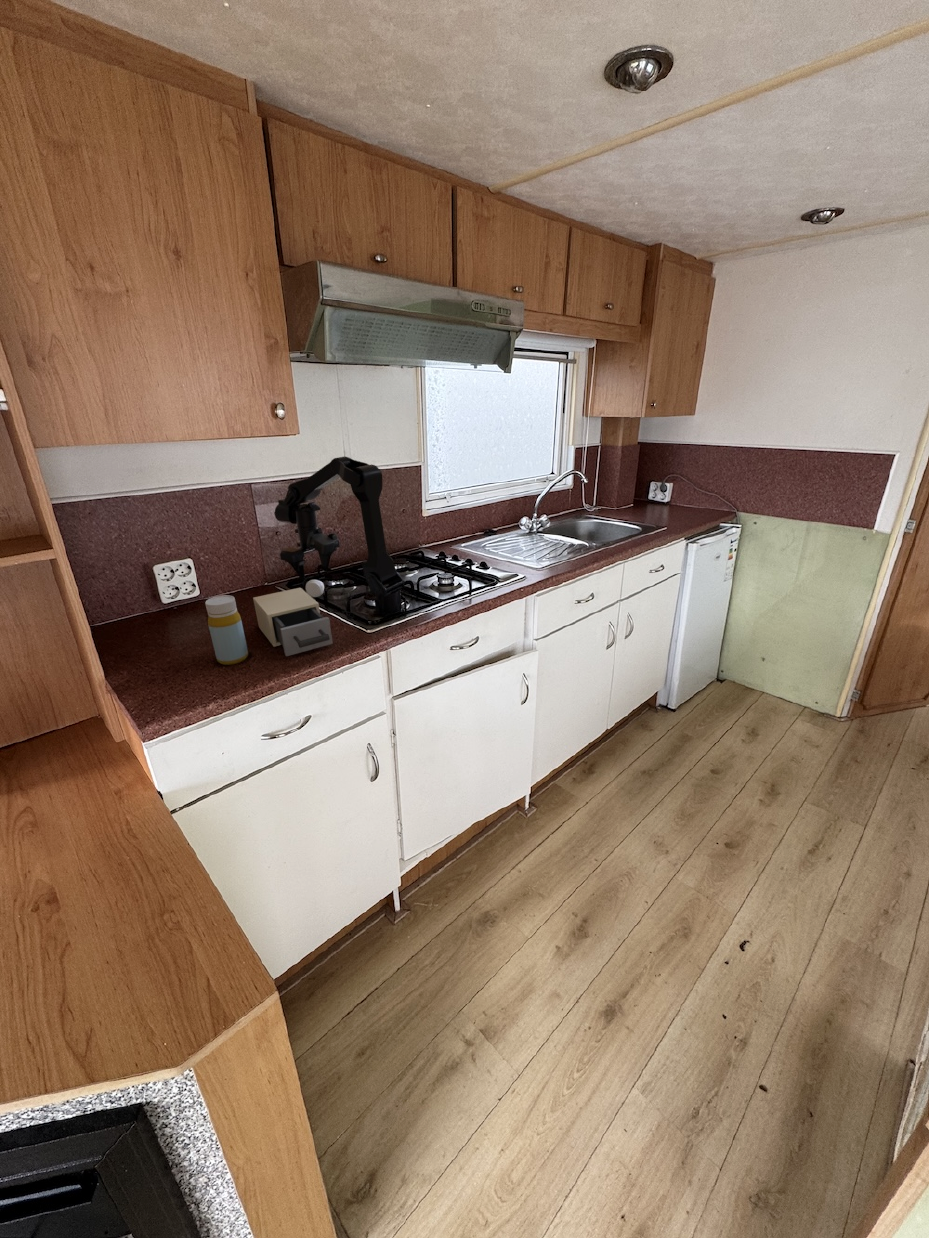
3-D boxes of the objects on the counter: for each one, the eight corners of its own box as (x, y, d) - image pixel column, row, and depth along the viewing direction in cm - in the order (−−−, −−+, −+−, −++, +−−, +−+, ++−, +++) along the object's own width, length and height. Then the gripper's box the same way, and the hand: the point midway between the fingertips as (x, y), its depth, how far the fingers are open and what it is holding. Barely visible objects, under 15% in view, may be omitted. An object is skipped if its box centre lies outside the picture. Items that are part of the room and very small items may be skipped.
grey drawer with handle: (340, 651, 127) (337, 625, 124) (293, 665, 121) (288, 638, 119) (314, 625, 141) (310, 601, 139) (270, 636, 136) (266, 612, 133)
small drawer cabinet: (323, 634, 139) (318, 603, 135) (273, 647, 132) (267, 615, 129) (305, 616, 150) (300, 587, 146) (258, 627, 144) (252, 597, 140)
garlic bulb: (328, 591, 168) (326, 574, 166) (323, 598, 163) (321, 581, 161) (311, 591, 168) (309, 574, 166) (305, 598, 163) (303, 581, 161)
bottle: (238, 666, 123) (224, 606, 117) (211, 664, 125) (196, 605, 119) (254, 653, 129) (242, 595, 124) (228, 651, 131) (215, 593, 125)
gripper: (302, 535, 146) (310, 589, 152) (349, 521, 160) (355, 571, 166) (274, 531, 151) (283, 583, 157) (323, 517, 166) (329, 566, 172)
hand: (314, 575), depth 163 cm, fingers open, 9 cm apart
